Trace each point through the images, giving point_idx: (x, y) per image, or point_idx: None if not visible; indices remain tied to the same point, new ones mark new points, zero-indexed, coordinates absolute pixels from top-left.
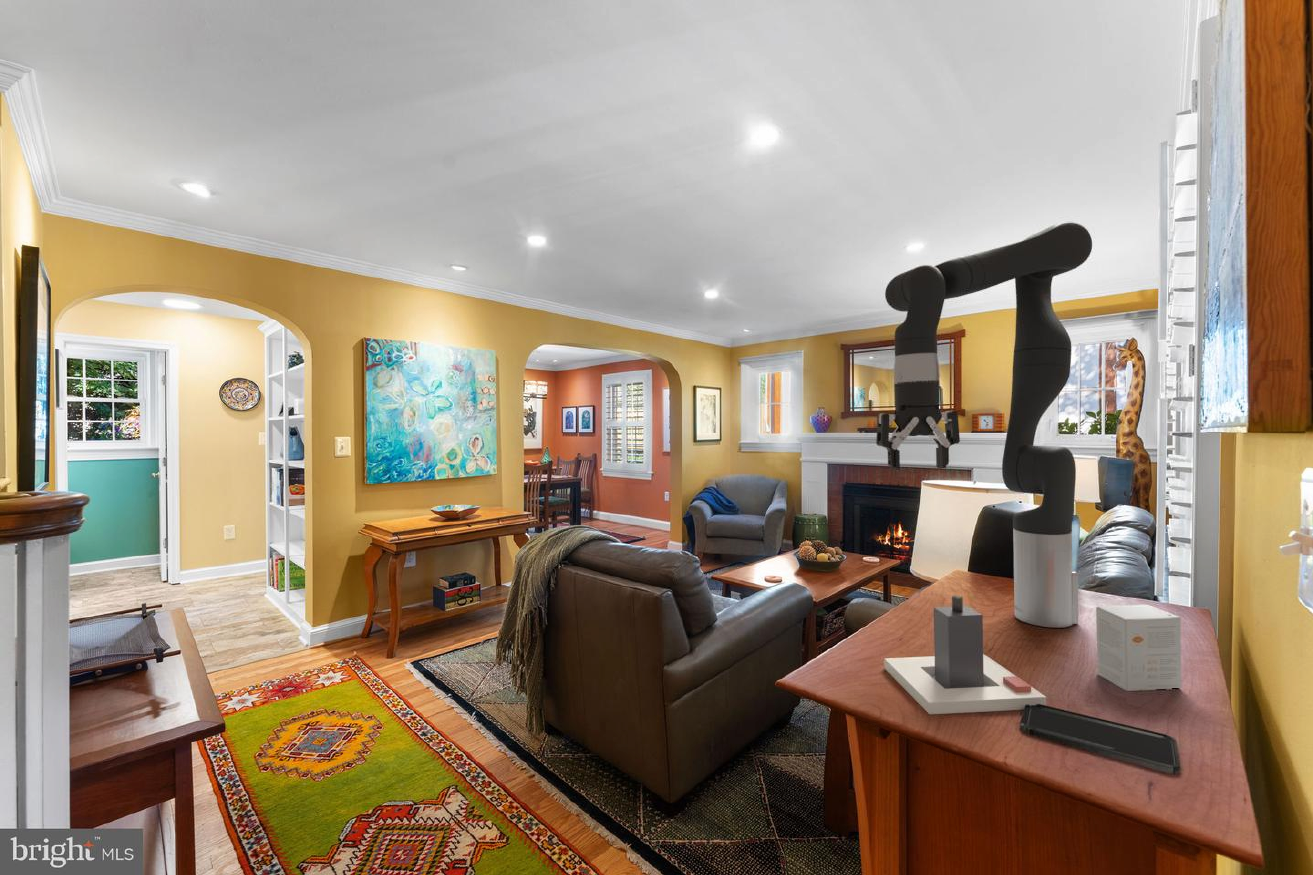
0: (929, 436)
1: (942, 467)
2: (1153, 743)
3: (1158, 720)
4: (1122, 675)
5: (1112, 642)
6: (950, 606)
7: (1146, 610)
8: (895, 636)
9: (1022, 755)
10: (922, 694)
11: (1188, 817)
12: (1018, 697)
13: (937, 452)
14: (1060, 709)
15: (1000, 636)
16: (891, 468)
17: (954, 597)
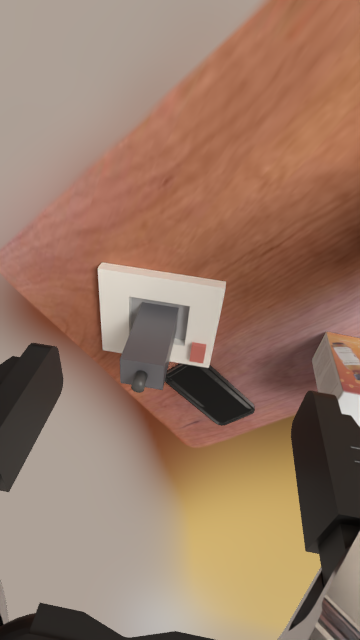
0: (306, 630)
1: (292, 430)
2: (234, 410)
3: (280, 390)
4: (314, 366)
5: (324, 381)
6: (142, 362)
7: None
8: (165, 167)
9: None
10: (103, 338)
11: (188, 437)
12: (184, 363)
13: (323, 485)
14: (212, 372)
15: (331, 212)
16: (33, 347)
17: (133, 387)
